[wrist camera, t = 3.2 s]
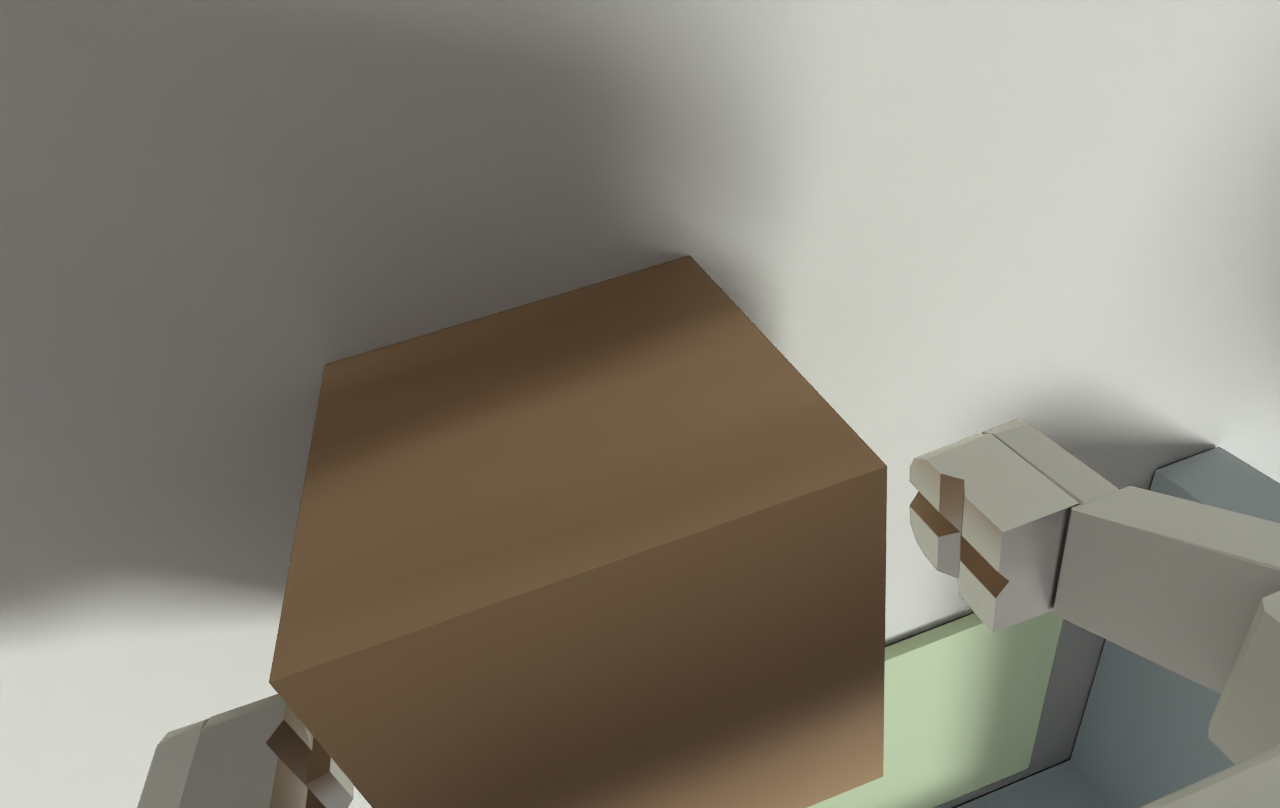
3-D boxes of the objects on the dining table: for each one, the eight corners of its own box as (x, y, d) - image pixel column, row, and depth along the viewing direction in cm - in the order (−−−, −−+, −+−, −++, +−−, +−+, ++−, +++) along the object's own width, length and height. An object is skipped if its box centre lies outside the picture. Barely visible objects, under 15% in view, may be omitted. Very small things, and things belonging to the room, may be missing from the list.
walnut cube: (326, 362, 9) (269, 681, 5) (687, 252, 10) (888, 466, 6) (454, 608, 12) (481, 940, 8) (729, 512, 13) (883, 776, 9)
